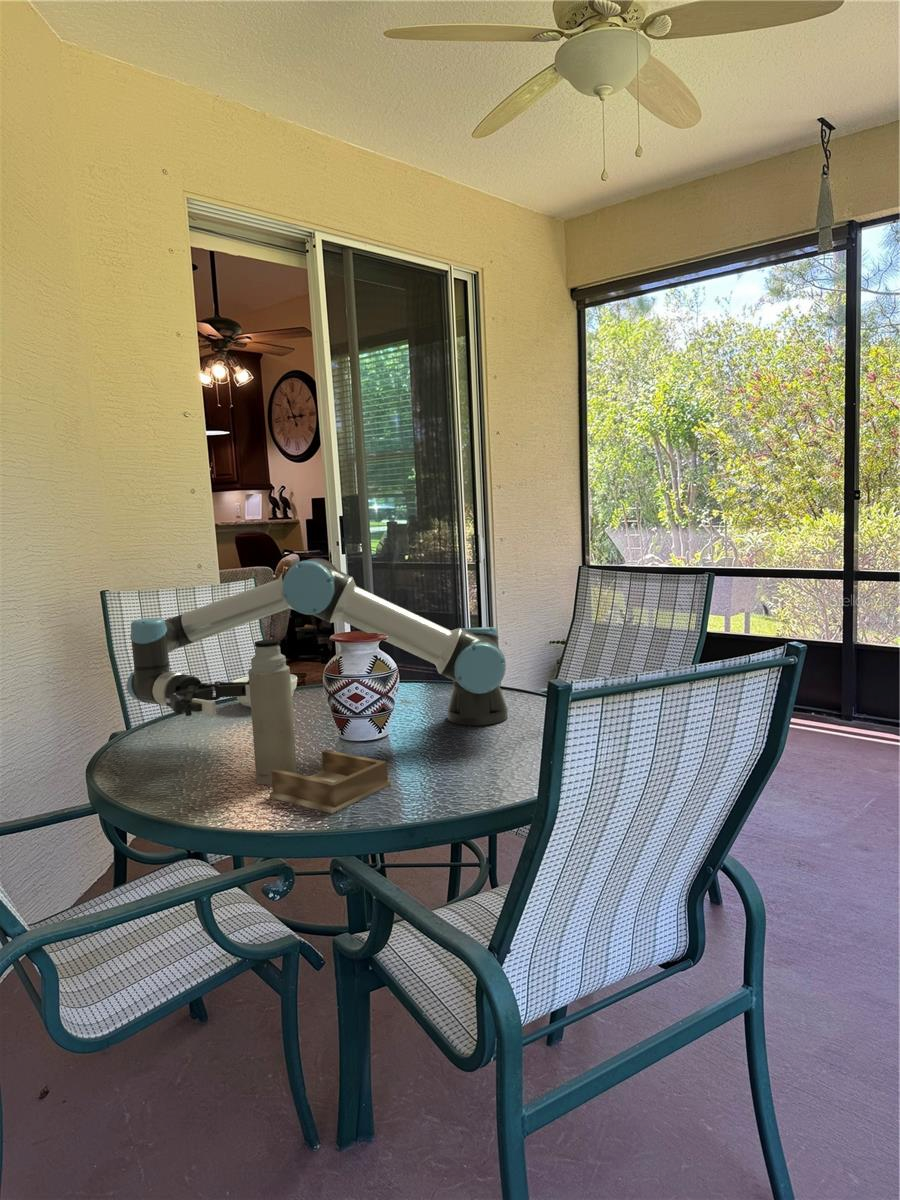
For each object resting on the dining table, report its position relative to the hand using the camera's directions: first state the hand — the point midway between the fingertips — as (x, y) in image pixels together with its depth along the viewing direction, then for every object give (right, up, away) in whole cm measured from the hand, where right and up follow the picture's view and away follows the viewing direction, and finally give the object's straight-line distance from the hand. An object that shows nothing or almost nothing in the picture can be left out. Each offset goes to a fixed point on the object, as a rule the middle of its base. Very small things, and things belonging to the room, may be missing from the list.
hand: (241, 701), depth 154 cm
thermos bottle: (+8, -15, -3) cm, 18 cm away
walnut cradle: (+20, -15, -12) cm, 28 cm away
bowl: (-9, -9, +59) cm, 60 cm away
